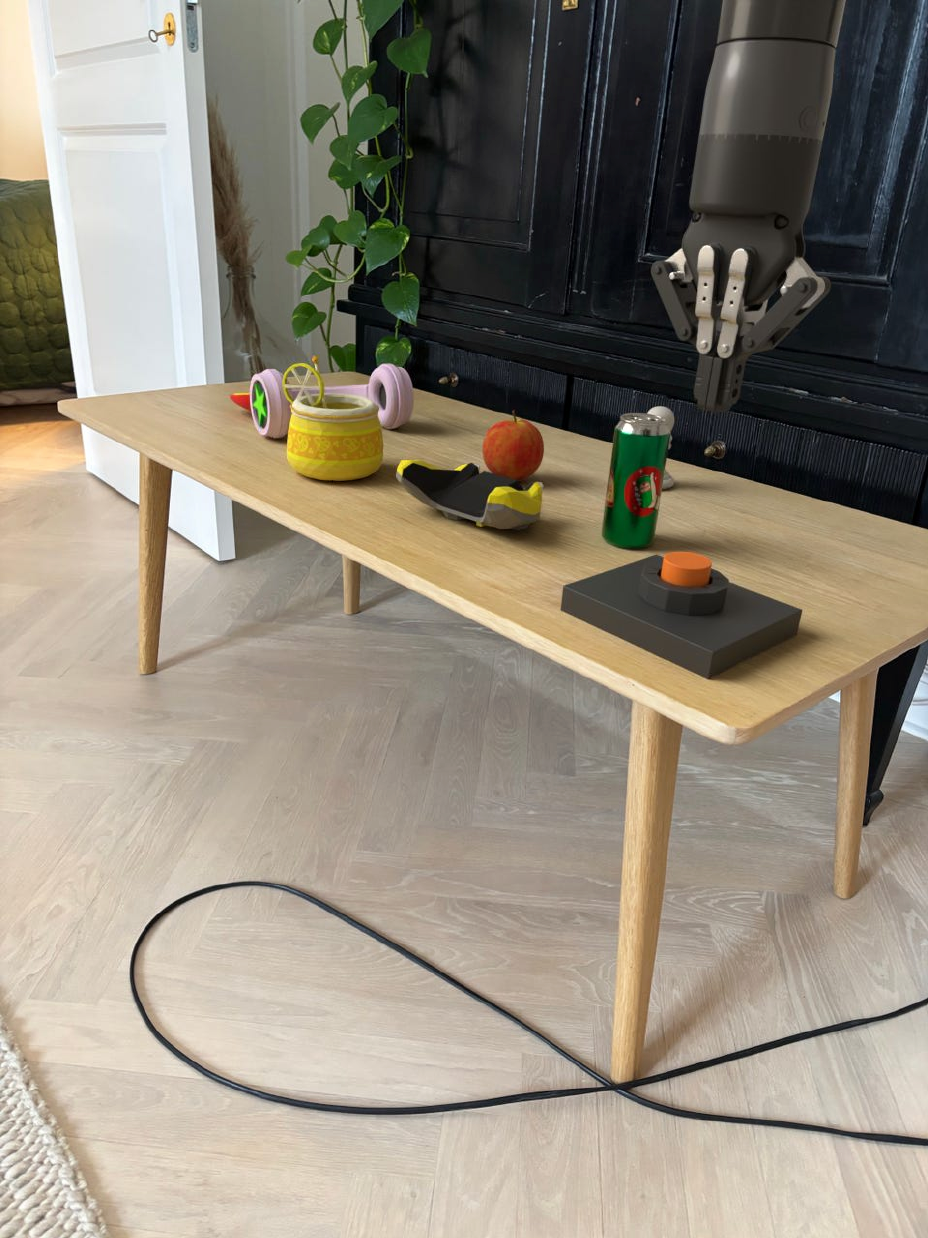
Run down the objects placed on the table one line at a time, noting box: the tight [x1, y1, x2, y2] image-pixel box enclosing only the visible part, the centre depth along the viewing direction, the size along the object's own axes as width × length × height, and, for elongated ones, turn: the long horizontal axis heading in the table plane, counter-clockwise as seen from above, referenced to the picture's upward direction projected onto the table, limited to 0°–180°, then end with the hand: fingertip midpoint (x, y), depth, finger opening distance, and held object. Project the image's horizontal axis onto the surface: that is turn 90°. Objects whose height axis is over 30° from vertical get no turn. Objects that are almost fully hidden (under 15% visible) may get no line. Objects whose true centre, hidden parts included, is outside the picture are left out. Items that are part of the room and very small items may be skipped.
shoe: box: [395, 459, 544, 531], centre depth 90 cm, size 15×6×10 cm
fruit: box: [482, 409, 545, 482], centre depth 103 cm, size 7×7×8 cm
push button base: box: [560, 554, 803, 680], centre depth 71 cm, size 14×12×4 cm
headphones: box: [229, 363, 415, 439], centre depth 122 cm, size 20×10×20 cm
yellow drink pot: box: [282, 355, 384, 482], centre depth 102 cm, size 13×11×12 cm
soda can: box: [601, 412, 672, 550], centre depth 85 cm, size 5×5×12 cm
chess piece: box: [646, 405, 675, 490], centre depth 104 cm, size 5×5×9 cm
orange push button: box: [661, 550, 713, 587], centre depth 70 cm, size 4×4×2 cm
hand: (713, 409), depth 64 cm, fingers closed
